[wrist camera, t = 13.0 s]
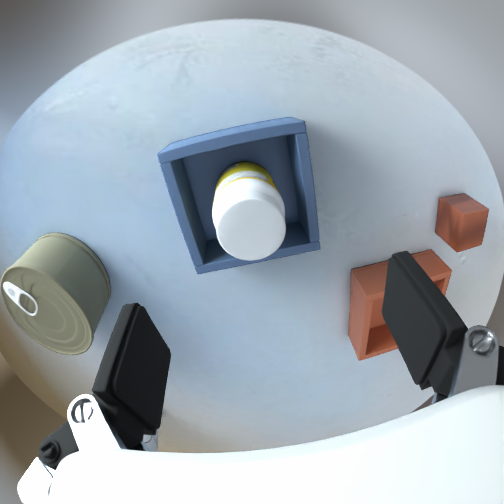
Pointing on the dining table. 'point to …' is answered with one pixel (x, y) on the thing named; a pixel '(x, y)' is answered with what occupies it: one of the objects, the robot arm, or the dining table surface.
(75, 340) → the can
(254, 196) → the supplement bottle
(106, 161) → the dining table surface
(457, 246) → the block
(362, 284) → the terracotta bin
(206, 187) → the blue bin
